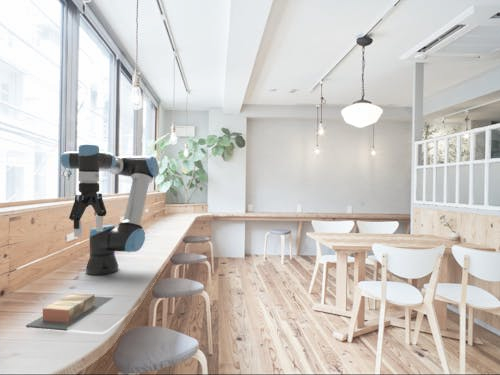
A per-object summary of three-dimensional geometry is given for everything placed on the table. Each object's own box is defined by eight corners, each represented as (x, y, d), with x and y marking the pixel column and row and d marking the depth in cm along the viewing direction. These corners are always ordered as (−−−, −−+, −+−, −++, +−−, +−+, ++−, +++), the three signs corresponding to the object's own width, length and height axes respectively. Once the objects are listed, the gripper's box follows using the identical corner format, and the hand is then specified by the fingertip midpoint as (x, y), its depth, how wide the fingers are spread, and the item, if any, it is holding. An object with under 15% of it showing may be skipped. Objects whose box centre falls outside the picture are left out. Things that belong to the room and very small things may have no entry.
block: (72, 293, 118) (42, 308, 104) (94, 294, 117) (67, 310, 103) (72, 303, 118) (42, 320, 104) (94, 305, 117) (67, 322, 103)
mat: (81, 296, 126) (81, 295, 126) (113, 299, 124) (113, 297, 124) (26, 327, 101) (26, 325, 101) (65, 330, 99) (65, 328, 99)
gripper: (76, 182, 116) (76, 240, 117) (114, 182, 141) (115, 229, 141) (58, 182, 117) (58, 239, 118) (99, 182, 142) (99, 228, 142)
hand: (89, 234), depth 129 cm, fingers open, 13 cm apart
